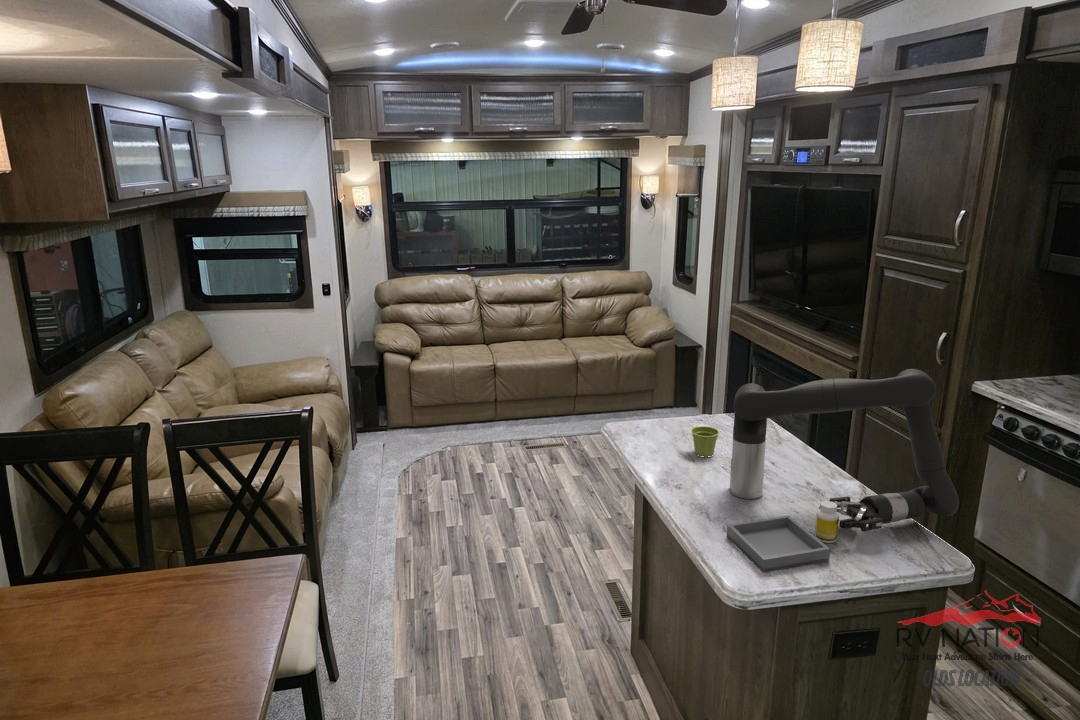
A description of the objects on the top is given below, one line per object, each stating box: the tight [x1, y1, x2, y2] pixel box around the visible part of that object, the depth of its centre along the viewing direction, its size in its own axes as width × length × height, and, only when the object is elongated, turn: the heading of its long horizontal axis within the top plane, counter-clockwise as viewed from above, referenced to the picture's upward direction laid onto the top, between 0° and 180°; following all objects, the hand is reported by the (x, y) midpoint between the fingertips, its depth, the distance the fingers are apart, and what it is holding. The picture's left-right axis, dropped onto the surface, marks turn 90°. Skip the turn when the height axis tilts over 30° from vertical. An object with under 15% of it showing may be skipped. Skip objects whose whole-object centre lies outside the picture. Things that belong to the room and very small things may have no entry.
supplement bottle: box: [814, 500, 840, 544], centre depth 180 cm, size 5×5×10 cm
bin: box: [726, 514, 831, 573], centre depth 177 cm, size 18×18×4 cm
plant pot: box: [690, 425, 720, 458], centre depth 236 cm, size 9×9×9 cm
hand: (830, 516), depth 180 cm, fingers open, 8 cm apart
